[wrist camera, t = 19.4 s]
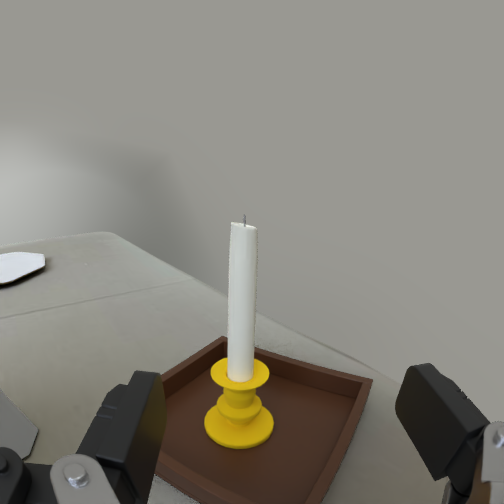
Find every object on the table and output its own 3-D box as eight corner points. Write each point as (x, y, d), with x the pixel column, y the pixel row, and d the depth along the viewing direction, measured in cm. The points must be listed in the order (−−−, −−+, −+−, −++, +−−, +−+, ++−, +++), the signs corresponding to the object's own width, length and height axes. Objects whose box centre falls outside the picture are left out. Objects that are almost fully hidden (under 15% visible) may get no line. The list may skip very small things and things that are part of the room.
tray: (222, 356, 31) (221, 335, 30) (366, 401, 23) (373, 379, 22) (106, 435, 17) (97, 412, 17) (295, 546, 10) (302, 532, 9)
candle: (264, 400, 23) (276, 210, 19) (281, 444, 18) (307, 221, 14) (201, 406, 22) (194, 209, 18) (208, 452, 17) (197, 220, 13)
